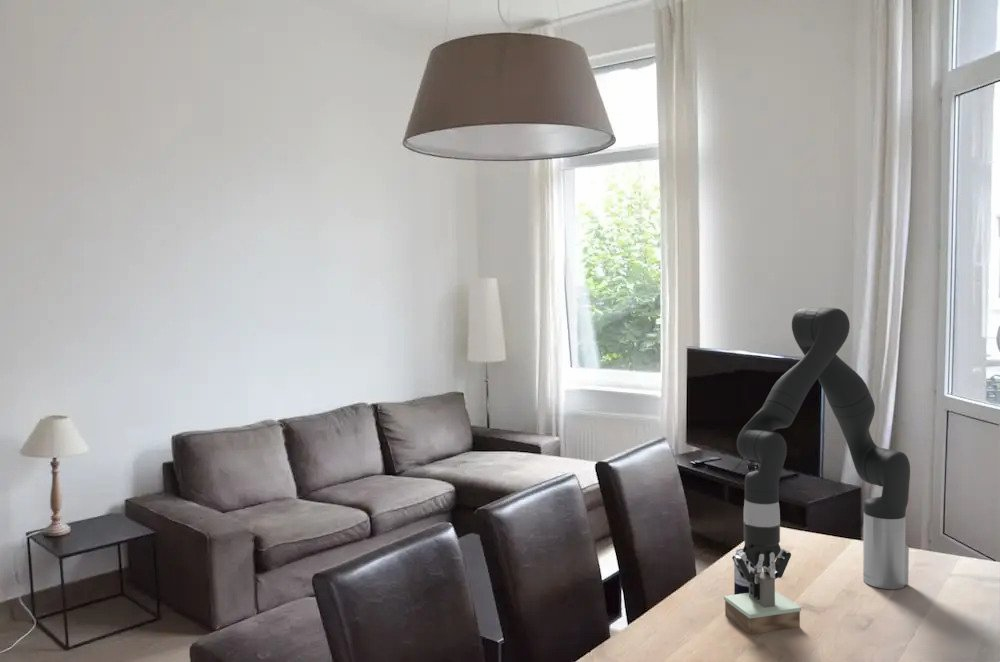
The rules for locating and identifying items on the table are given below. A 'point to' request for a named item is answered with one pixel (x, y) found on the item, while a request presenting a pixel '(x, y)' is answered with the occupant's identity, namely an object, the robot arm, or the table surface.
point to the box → (762, 620)
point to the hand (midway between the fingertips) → (761, 597)
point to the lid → (763, 600)
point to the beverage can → (740, 578)
